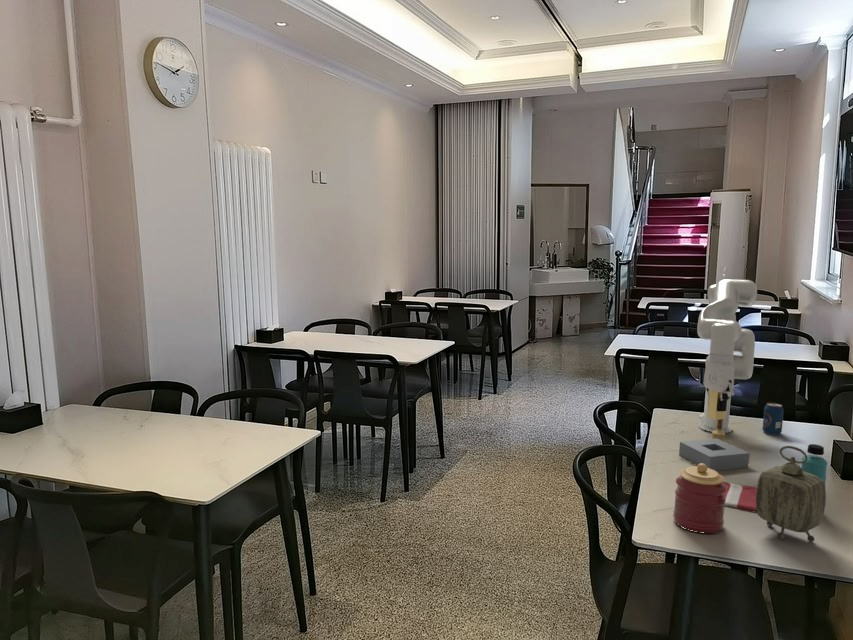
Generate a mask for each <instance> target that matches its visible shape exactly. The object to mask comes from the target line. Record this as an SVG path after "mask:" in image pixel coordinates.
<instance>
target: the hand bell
mask: <svg viewBox="0 0 853 640" xmlns="http://www.w3.org/2000/svg"><path fill="white" fill-rule="evenodd" d="M722 421H723V419H720V420H718V424H717V430H716V431H713V432H711V437H710V439H716V438H717V439H719V440H721V441H724V442H726V443H727V440H726V433H724V432H723V431H722Z"/></svg>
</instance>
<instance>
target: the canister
mask: <svg viewBox="0 0 853 640" xmlns="http://www.w3.org/2000/svg"><path fill="white" fill-rule="evenodd" d="M722 482H725V478H724V476H723V475H721V474H720V473H718V471H717V470H712V469H710V468H707V466H706V465H705V464H703V463H700V464H698V465H696V466H695V465H694V466H687V467H686V468H684V469H681V470H679V476H677V478H676V479H675V484H676V485H677V487H676V489H675V490H674V493H675V494H674V498H675V499H674V510H673V514H672V515H673V521H674V520H675V521H674V523H675V522H676V523H677V524H679V525H680V526H682V527H684V528H686V529H689V530H693V531H697V532H704V533H714V534H717V533H716V532H718V533H720V532H722V530H723V527H724V525H725V520H724V519H725V518H724V516H725V507H726V506H725V501H726V499H725V497H724V492H725V491H726V490H727V487H726V485H725V484H724V483H722ZM676 523H675V524H676ZM677 524H676V525H677ZM680 526H679V527H680ZM719 531H720V532H719Z"/></svg>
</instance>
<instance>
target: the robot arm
mask: <svg viewBox="0 0 853 640" xmlns="http://www.w3.org/2000/svg"><path fill="white" fill-rule="evenodd" d="M757 295H758V287H757V285H756V283H755V282H754V281H753V280H750V279H736V278H735V279H733V278H730V279H728V278H724V279H720V280H719V281H717V283H716V284H715V283H714V284H712V285H710V286H709V287H708V289H707V299H708V303H709V304H708V305H707V306H705V307H704V308H703V309H702V310H701V311H700V313H699V316H698V318H697V319H698V320H697V321H698V322H697V327H696V329H697V331H696V333H697V336H698V337H699V338H700V339H702V340H706V341H707V340H708V341H709V340H710V346H709V355H708V356H706V359H705V370H704V375H703V386H704V388H705V396H704V397H705V398H704V408H703V409H704V411H703V413H702V414H701V415H699V416H698V419H700V420H701V422H700V423H699V424H698V428H700V429H701V430H703V431H705V430H706V431H705V432H709V431H710V432H709V433H712V432H713V431H716V430H717V424H718V420H715V419H712V418H710V417H708V405H709V393H710V389H711V390H714V391H717V392H719V395H720V400H718V411H719V412H721V411H726V414H725V419H723V421H722V431H723V432H724V433H725V434H728V433H727V432H730V433H732V432H733V427H732V426H731V425H729V422H730V421H729V420H730V412H731V411H730V409H731V398H732V397H733V396H735V391H734V387H735V385H734V384H735V380H736V379H738V380H748V379H750V378H752V375H753V372H754V360H755V346H756V337H755V334H754V332H753V331H752V330H751V329H750V328H749V329H748V328H742V325H741V324H740V323H739V322H738V321H737V316H736V313H737V311H738V309H739V307H752V306H753V305H754V304H755V302H756V299H757ZM734 352H736V353H740V354H741V355H740V354H734ZM723 393H725V395H724V396H723ZM731 431H732V432H731Z"/></svg>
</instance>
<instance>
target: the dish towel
mask: <svg viewBox="0 0 853 640" xmlns="http://www.w3.org/2000/svg"><path fill="white" fill-rule="evenodd" d="M722 483H724V484H725V485H726V487H727V490H726V491H725V492H724V497H725V499H726V501H725V506H724V507H729V506H730V508H734V507H735V509H738V508H739V510H742V509H743V510H742V511H747V510H749V511H748V512H752V511H755V512H754V513H757V509H756V489H757V486H749V485H744V484H743V485H740V484H736V483H731V482H726V481H723V482H722Z"/></svg>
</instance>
